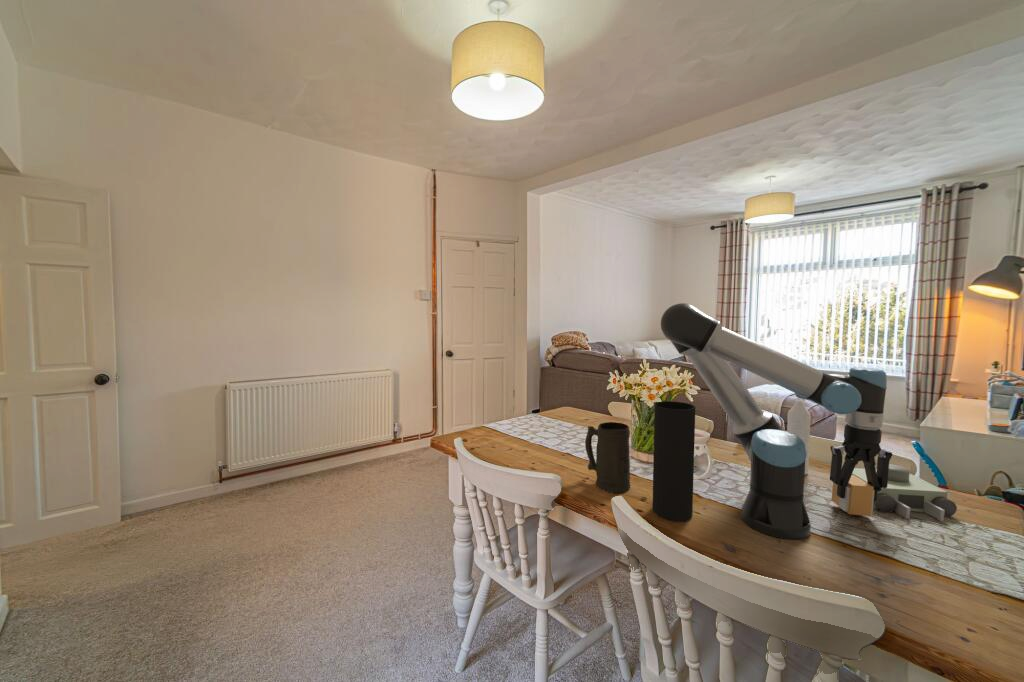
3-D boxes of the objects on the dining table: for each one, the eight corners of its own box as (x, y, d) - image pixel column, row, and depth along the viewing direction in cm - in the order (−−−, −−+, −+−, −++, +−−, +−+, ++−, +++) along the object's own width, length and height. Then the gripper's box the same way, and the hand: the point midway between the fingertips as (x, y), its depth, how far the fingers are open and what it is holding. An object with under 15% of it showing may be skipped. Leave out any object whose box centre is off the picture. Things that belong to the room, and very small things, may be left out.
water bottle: (807, 476, 136) (810, 403, 135) (784, 472, 140) (787, 400, 139) (809, 469, 143) (812, 398, 141) (787, 464, 147) (790, 396, 145)
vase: (656, 500, 120) (658, 399, 118) (694, 509, 115) (697, 403, 112) (649, 516, 111) (651, 407, 109) (689, 525, 106) (692, 411, 104)
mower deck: (884, 517, 110) (886, 484, 109) (834, 483, 131) (836, 455, 131) (966, 522, 107) (968, 489, 106) (901, 487, 128) (902, 459, 128)
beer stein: (637, 484, 131) (633, 422, 131) (627, 496, 122) (623, 430, 122) (591, 477, 140) (588, 419, 139) (579, 488, 131) (575, 426, 130)
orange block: (849, 514, 109) (852, 485, 108) (831, 500, 117) (833, 473, 116) (870, 516, 108) (873, 486, 108) (851, 502, 116) (853, 474, 115)
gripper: (833, 427, 106) (826, 513, 108) (913, 432, 103) (904, 521, 105) (817, 420, 114) (810, 500, 116) (891, 424, 111) (883, 507, 113)
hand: (855, 510), depth 110 cm, fingers closed on orange block, 5 cm apart
